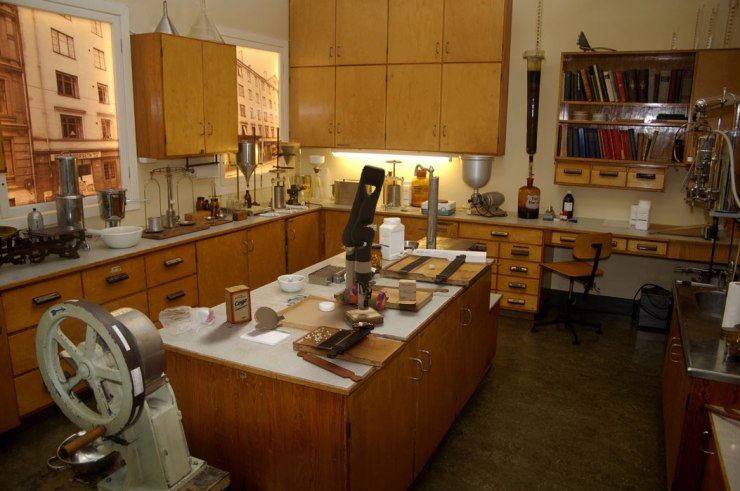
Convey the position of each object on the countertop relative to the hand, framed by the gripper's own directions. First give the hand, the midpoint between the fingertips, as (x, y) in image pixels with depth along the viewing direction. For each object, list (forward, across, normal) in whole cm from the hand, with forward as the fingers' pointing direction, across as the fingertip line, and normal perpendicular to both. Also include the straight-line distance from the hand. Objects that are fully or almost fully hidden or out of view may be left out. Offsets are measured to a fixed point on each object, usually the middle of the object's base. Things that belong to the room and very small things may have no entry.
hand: (363, 305), depth 258 cm
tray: (+7, 0, 0) cm, 7 cm away
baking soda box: (+7, +24, +52) cm, 58 cm away
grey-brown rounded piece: (+8, +12, +42) cm, 45 cm away
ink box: (+8, +11, -29) cm, 32 cm away
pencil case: (+8, +17, -9) cm, 20 cm away
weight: (+2, 0, 0) cm, 2 cm away
